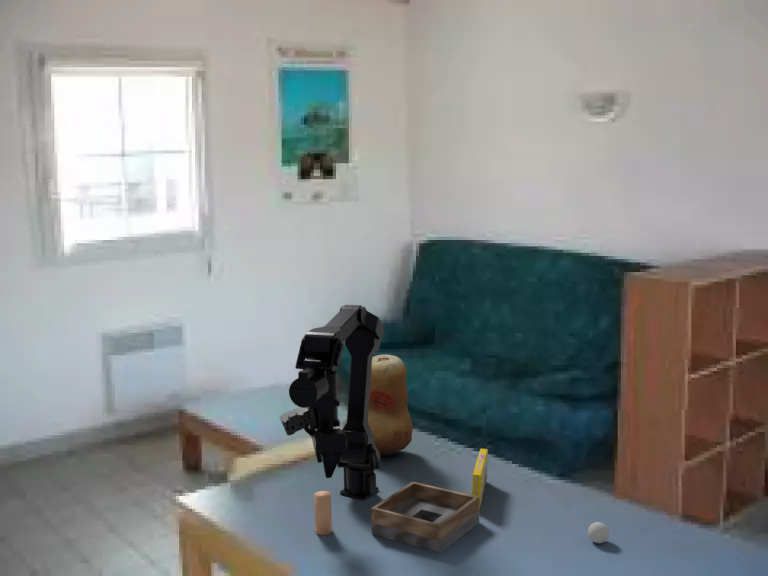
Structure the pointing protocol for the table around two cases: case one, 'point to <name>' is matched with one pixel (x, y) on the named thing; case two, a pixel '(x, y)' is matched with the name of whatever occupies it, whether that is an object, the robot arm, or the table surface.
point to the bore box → (425, 516)
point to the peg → (323, 513)
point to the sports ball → (598, 532)
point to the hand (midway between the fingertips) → (324, 469)
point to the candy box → (480, 475)
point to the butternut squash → (389, 405)
